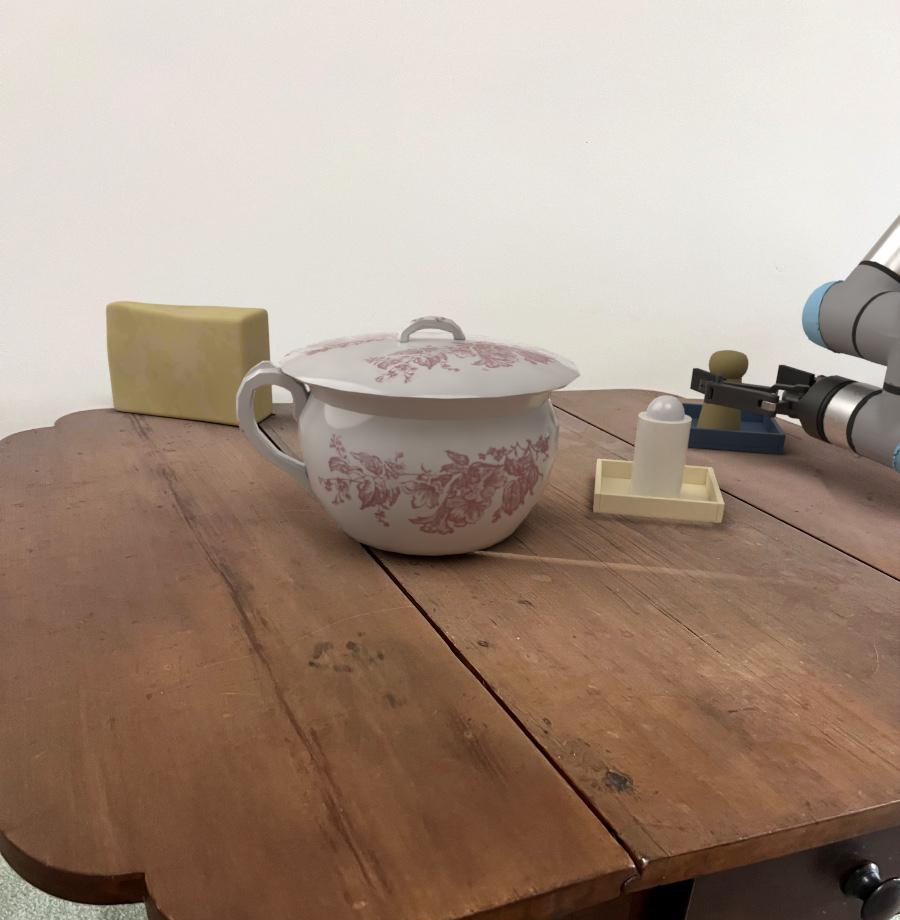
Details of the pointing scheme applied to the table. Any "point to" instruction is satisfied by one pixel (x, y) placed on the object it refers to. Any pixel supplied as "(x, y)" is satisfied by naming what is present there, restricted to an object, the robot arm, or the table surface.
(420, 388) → the chamber pot
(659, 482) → the salt shaker
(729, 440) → the dark tray
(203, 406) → the cheese
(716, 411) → the olive tapered knobbed cylinder
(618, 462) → the light tray
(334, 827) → the table surface
